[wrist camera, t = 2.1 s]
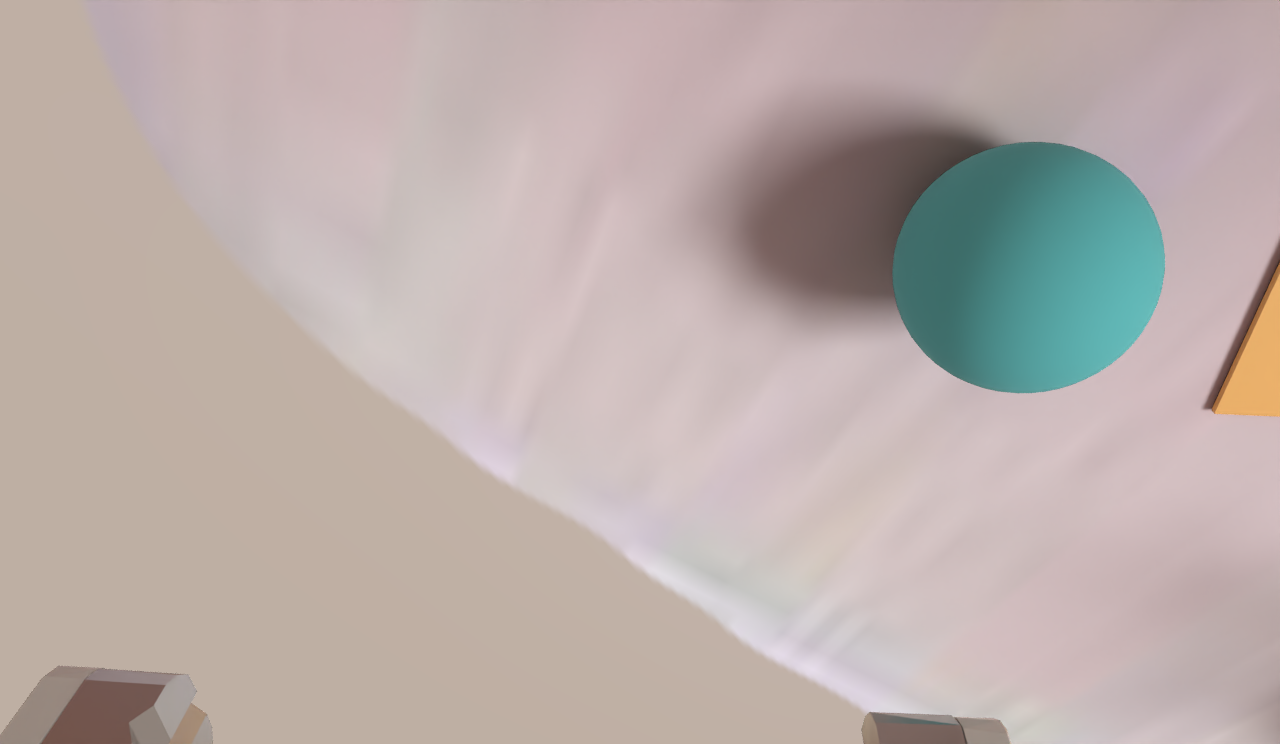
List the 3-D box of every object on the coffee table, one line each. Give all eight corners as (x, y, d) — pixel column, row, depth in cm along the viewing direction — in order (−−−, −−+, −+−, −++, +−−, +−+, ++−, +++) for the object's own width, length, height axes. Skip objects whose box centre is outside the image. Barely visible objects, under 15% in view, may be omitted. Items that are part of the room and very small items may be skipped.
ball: (1138, 111, 22) (1263, 208, 17) (1070, 318, 25) (1158, 449, 20) (895, 105, 22) (947, 198, 17) (860, 310, 26) (896, 437, 21)
